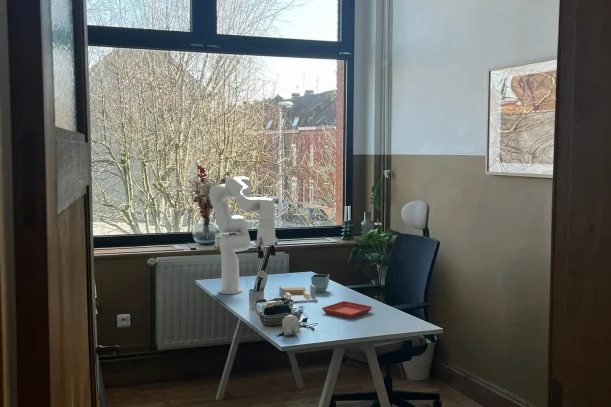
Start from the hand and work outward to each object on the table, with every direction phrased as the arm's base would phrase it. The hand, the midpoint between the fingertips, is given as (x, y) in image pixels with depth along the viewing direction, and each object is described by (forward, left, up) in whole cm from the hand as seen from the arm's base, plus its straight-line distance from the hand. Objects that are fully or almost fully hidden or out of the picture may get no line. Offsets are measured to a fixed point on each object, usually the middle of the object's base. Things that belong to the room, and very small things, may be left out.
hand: (266, 256), depth 325 cm
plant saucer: (+28, +33, -25) cm, 50 cm away
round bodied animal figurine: (+55, -2, -25) cm, 60 cm away
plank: (-16, +17, -25) cm, 34 cm away
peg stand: (-5, +17, -24) cm, 30 cm away
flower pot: (-20, +34, -25) cm, 47 cm away
